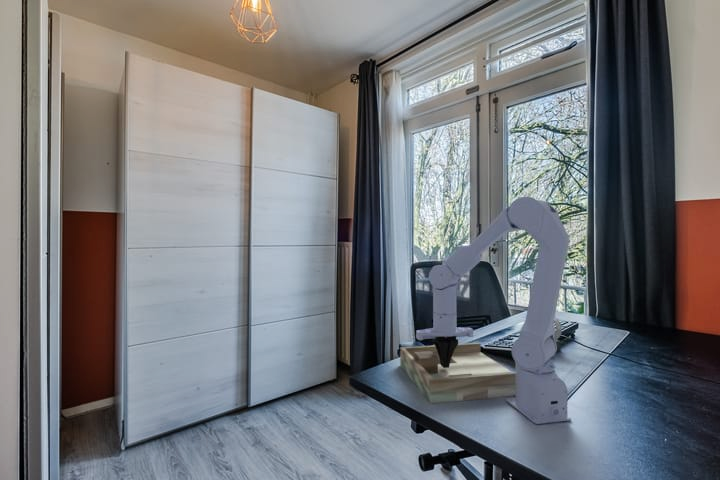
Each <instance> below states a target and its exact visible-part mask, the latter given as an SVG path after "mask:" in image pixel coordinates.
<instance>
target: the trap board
mask: <svg viewBox="0 0 720 480" xmlns="http://www.w3.org/2000/svg"><path fill="white" fill-rule="evenodd" d="M481 347H482V346H481V343H480V342H469V343H466V342H465V343H458V345H457V347H456V348H455V350H454V352H453V355H452V358H451V361H450V365H449V368H444V367H442V366H441V363H440V358H439V355H438V352H437V349H436V346H435V344H433V345H421V346H419V345H418V346H405V347H400V348H399V351H400V353H399V354H400V355H399V360H400V362H399V364H400V367H401V368H402V370H403V371H404V372H405V373H406V374H407V375H408V377H409V378H410V380H411V381H412V382H413V383H414V384H415V385H416V387H417V388H418V390H420V392H421V393H422V395H423V396H424V398H426V399H427V401H428V402H429V403H430V404H439V403H452V402H462V401H471V400H481V399H493V398H503V397H514V396H515V397H516V371H511V370H509V369H508V368H506V367H505V366H503V365H501V364H500V363H498V362H497V361H495V360H494V359H492V358H491V357H489V356H487V355H486V354H484V353H483V352H481V350H482V349H481ZM426 351H431V352H432V353H433V354H435V355H436V356H437V357H438V374H429V373H428V372H427V371H426V370H425V369H424V368H423V367H422V366H421V365H420V364H419V363H418V362H417V361H416V360H415V358H414V352H426Z"/></svg>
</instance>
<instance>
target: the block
mask: <svg viewBox="0 0 720 480" xmlns="http://www.w3.org/2000/svg"><path fill="white" fill-rule="evenodd" d="M414 358H415V360H416V361H417V362H418V363H419V364H420V365H421V366H422V367H423V368H424V369H425V370H426V371H427V372H428V373H429V374H438V357H437V356H436V355H435V354H433V353H432V352H431V351H426V352H414Z"/></svg>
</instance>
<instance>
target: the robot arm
mask: <svg viewBox="0 0 720 480" xmlns="http://www.w3.org/2000/svg"><path fill="white" fill-rule="evenodd" d="M518 231H523V232H526V233H528V234H529V236H530V237H531V238H532V239H533V240H534V241H535V242H536V243H537V245H538V251H537V256H536V257H537V258H536V260H535V261H536V262H535V266H534V267H535V269H534V273H533V278H532V285H531V289H530V295H529V299H528V305H527V309H526V310H527V311H526V316H525V320H524V322H523V324H522V326H521V328H520V331H519V335H518V338H517V339H516V340H515V342H514V343H513V344H512V346H511V356H512V358H513V360H514V362H515V372H516V396H515V397H510V398H509V397H508V398H506V402H507V403H509V404H510V405H511V406H512V407H514V409H516V410H518V412H520V413H522V414H523V415H524V416H525V417H526V418H527V419H529V420H530V421H531V422H532V423H534V424H537V425H539V424H541V425H542V424H548V423H549V424H550V423H557V422H567V421H571V420H572V417H571V416H570V415H568V387H567V385H566V383H565V381H564V380H562V379H561V378H560V376H558V375H557V373H556V370H555V369H556V368H555V364H554V363H553V360H552V358H553V357H554V356H555V355H556V354H557V352H558V351H557V344H556V341H555V338H554V334H555V331H556V326H555V323H554V317H556V312H557V306H558V301H559V297H560V293H561V292H560V291H561V285H562V281H563V276H564V275H563V274H564V271H565V265H566V262H567V261H566V260H567V254H568V250H569V245H570V237H569V234H568V232H567V230H566V228H565V226H564V224H563V222H562V220H561V218H560V215H559V211H558V210H557V209H556V208H555V207H553V206H552V205H551V204H550V203H549V202H547V201H545V200H542V199H537V198H535V197H532V196H529V195H528V196H526V195H525V196H521V197H517V198H516V199H514V201H512V202H511V203H510V205H508V206H505V208H503V209H502V211H500V213H499V214H498V215H497V216H496V218H494V220H492V221H491V222H490V224H489V225H488V226H486V227H485V229H484V230H483V231H481V232H480V234H478V236H477V237H476V238H475V239H473V240H472V242H471V243H470V244H468V243H463V244H461V245H457V246H455V247H454V251H453V252H452V253H451V254H450V255H449V256H448V257H447V258H443V260H442V261H441V264H437V265H434V266H432V268H431V269H430V271H429V273H428V280H429V283H430V285H431V286H432V288H433V289H432V297H433V298H432V299H433V301H432V309H433V310H432V320H433V322H432V326H433V327H432V328H425V329H418V330H415V331H416V335H415V338H416V339H417V340H418V341H423V340H429V339H431V340H432V342H433V345H435V346H436V349H437V352H438V355H439V358H440V363H441V366H442V367H444V368H449V365H450V361H451V358H452V355H453V352H454V350H455V348H456V347H457V345H458V344H459V339H457V338H462V337H463V338H464V337H465V338H466V337H468V338H473V337H474V329H473V328H471V327H460V326H459V327H457V325H458V324H457V314H458V313H457V290H458V286H459V284H460V283H461V280H462V278H463V277H464V276H466V274H467V273H469V272H470V271H472V269H474V268H475V267H476V266H477V265H478V264H479V263H480V262H481V256H482V255H481V254H483V253H484V252H485V251H487V250H488V249H489V248H490V247H492V246H493V245H494V244H496V242H498V241H499V240H500V239H502V238H503V237H504V236H506V235H507V234H509V233H512V232H518ZM556 351H557V352H556Z"/></svg>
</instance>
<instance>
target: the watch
mask: <svg viewBox="0 0 720 480" xmlns="http://www.w3.org/2000/svg"><path fill="white" fill-rule="evenodd" d="M553 324H554V326H555V334H554V338H555V341H556V344H557V351H556V353H557V352H561V350H562V349H561V347H562V346H561V344H562V343H561V340H558V339H559V338H560V336H561V335H562V332H563V330H562V327H563V326H562V324H561V321H560V320H559V319H558V318H557V317H556V316H555V317H554V323H553Z"/></svg>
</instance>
